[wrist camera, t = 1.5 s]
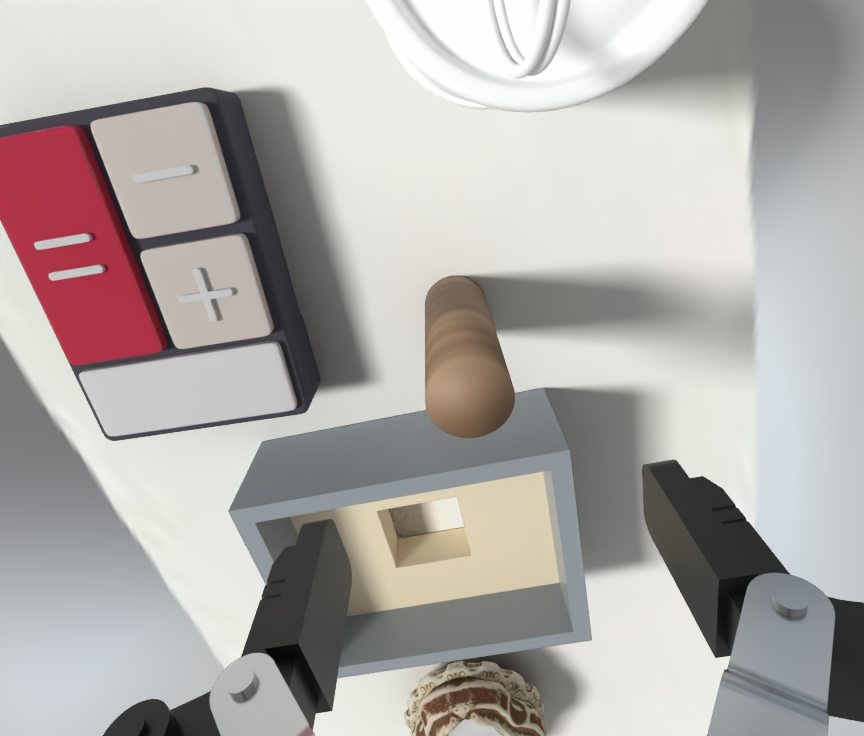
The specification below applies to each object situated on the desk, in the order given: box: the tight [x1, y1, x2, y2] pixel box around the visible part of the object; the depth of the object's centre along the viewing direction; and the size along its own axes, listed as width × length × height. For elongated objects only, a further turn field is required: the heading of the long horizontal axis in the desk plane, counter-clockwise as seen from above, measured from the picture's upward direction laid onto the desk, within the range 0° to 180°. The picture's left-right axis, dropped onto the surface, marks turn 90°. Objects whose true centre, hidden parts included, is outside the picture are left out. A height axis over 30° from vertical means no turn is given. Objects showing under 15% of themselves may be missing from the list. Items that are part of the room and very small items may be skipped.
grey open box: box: [228, 388, 592, 678], centre depth 31 cm, size 14×17×6 cm
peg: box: [425, 276, 515, 438], centre depth 23 cm, size 3×3×10 cm
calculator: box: [0, 88, 320, 441], centre depth 25 cm, size 11×4×15 cm
